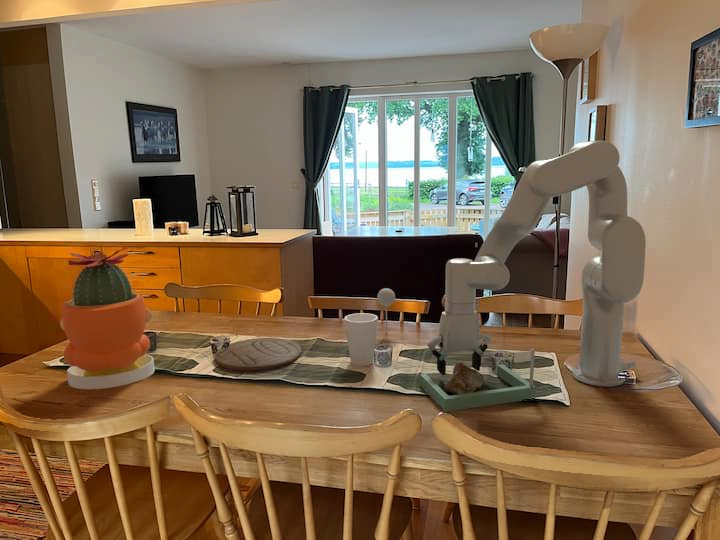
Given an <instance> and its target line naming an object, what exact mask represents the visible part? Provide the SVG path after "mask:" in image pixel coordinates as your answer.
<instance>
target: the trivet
mask: <svg viewBox="0 0 720 540" xmlns="http://www.w3.org/2000/svg"><path fill="white" fill-rule="evenodd" d="M229 344H230V345H229V347H228V348H226V349H222V350H219V349H217V351H216V352H215V353H214V359H215V363H216V365H217V366H218V367H220V368H221V369H224V370H228V371H233V372H242V373H253V372H254V373H255V372H264V371H271V370H277V369H280V368H283V367H286V366H289V365H291V364H293V363H295V362H296V361H298V360H299V359H300V357H301V354H302V347H301V346H300V345H299V344H298V343H297V342H296V341H292V340H290V339H284V338H276V337H257V338H248V339H243V340H238V341H236V342H235V341H234V342H231V343H229Z"/></svg>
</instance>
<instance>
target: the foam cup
mask: <svg viewBox="0 0 720 540" xmlns="http://www.w3.org/2000/svg"><path fill="white" fill-rule="evenodd" d="M343 320H344V321H343V322H344V328H345V333H346V340H347V347H348V353H349V359H350V360H349V361H350V363H351V364H352V365H354V366H359V367H360V366H361V367H363V366H369V364H370V365H371V363H372V362H373V363H374V358H375V351H374V349H375V348H376V342H377V333H378V326H379V316H378V315H376V314H373V313H365V312H362V313H361V312H360V313H359V312H356V313H352V314H348V315H345V316H344V318H343ZM375 350H376V349H375ZM373 363H372V364H373Z"/></svg>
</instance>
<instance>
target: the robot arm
mask: <svg viewBox="0 0 720 540" xmlns="http://www.w3.org/2000/svg"><path fill="white" fill-rule="evenodd" d="M620 157H621V156H620V152H619V150H618V148H617V146H616V145H615V144H613V143H612V142H610V141H607V140H590V141H589V140H587V141H582V142H579V143H575V144H574V145H573V146H571V148H569V150H568V152H567V153H565V154H562V155H560V156H558V157H554V158H551V159H541V160H536V161H533V162H531V163H530V164H529V165H528V166H527V167H526V168H525V170H524V172H523V174H522V175H521V178H520V180H519V182H518V184H516V188H515V189H514V191H513V194H512V195H511V197H510V199H509V201H508V202H507V204H506V206H505V208H504V211H503V212H502V214H501V215H500V217H499V218H498V220H497V221H496V223H495V224H494V226H493V227H492V229H491V230H490V231H489V233H488V234H487V236H486V237H485V239H484V241H483V243H482V245H481V246H480V248H479V250H478V252H477V254H476V257H475V258H474V260H473V259H469V258H463V257H461V258H459V257H458V258H452V259H448V260H447V261H446V263H445V283H444V284H445V291H444V294H445V299H444V300H445V301H444V311H442V312H441V316H440V319H439V326H438V333H437V334H438V336H437V337H435V338H433V339H432V340H430V341H429V342H427V347H428V349H429V350H430V353H431V354H432V355H433V356H434V357H435V358H436V370H437V372H438V373H439V374H441V375H442V376H445V375H446V373H447V371H446V370H447V369H446V368H447V366H446V365H447V364H446V363H447V360H446V359H445V358H446V357H447V356H448V354H451V353H461V352H469V351H473V352H472V355H471V356H472V357H471V367H472V369H474V370H476V371H477V372H479V371H481V365H482V357H483V355H484V352H485V351H486V350H487V349H488V345H490V343H491V340H492V338H491V337H490V336H489V335H486V334H484V333H482V332H481V330H480V320H479V316H478V315H479V313H478V311H477V308H478V307H480V305H481V303H480V301H479V300H478V301H477V300H476V290H477V289H478V290H484V291H485V290H486V291H499V290H502V289H504V288H505V287H506V286H507V285H508V283H509V282H510V277H511V274H510V270H509V268H508V267H507V265H506V264H505V262H506V261H507V259H508V257H509V255H510V253H512V251H513V249H514V247H515V246H516V245H517V244H518V243H519V242H520V241H521V240H523V239H524V238H525V237H527V236H529V235H530V234H531V233H532V232H533V231H534V230H535V229H536V227H537V224H538V223H539V221H540V219H542V218H541V217H542V215H543V214H544V212H545V210H546V208H547V206H548V204H549V202H550V200H551V199H552V198H555V197H559V196H562V195H565V194H568V193H571V192H574V191H577V190H579V189H581V188H583V187H586V188H587V191H588V192H587V193H588V218H587V219H588V221H587V222H588V224H587V238H588V239H587V240H588V242H589V243H590V245H591V246H592V247H593V248H595V249H597V251H598V250H599V251H601V255H597V256H594V257H592V258H591V259H589V260H588V261H587V262H586V263H585V264H584V266H583V268H582V272H581V291H582V313H581V314H582V316H581V328H580V329H581V330H580V347H579V362H578V365H577V366H576V367H573V369H572V373H571V374H572V376H573V378H575V379H576V380H577V381H579V382H582V383H584V384H587V385H591V386H597V387H606V388H607V387H610V388H611V387H618V386H620V385H621V386H622V385H623V384H624V383H623V382H624V379H622V380H621V379H619V378H618V376H619V373H624V372H625V370H631V369H633V370H634V369H635V368H636V362H635V361H633V360H631V361H624V360H623V359H621V356H622V354H621V353H622V340H623V327H624V315H625V305H624V304H627V303H629V302H631V301H633V300H635V299H636V298H637V297H638V296H639V294H640V293H641V291H642V288H643V284H644V279H645V278H644V277H645V262H646V259H645V258H646V248H647V247H646V245H647V244H646V235H645V231H644V228H643V226H642V224H641V223H640V222H639V221H637V219H635V218H633V217H632V216H629V215H628V186H627V181H626V178H625V175H624V173H623V171H622V170H621V168H620V166H619V165H620V164H619V163H620ZM481 339H482V342H481ZM436 346H438V347H439V349H438V350H437V348H436Z"/></svg>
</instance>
